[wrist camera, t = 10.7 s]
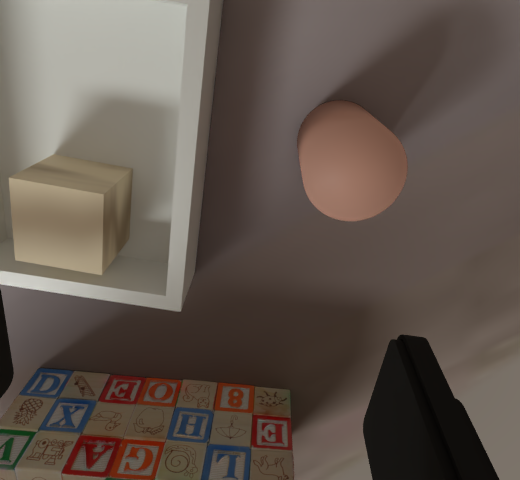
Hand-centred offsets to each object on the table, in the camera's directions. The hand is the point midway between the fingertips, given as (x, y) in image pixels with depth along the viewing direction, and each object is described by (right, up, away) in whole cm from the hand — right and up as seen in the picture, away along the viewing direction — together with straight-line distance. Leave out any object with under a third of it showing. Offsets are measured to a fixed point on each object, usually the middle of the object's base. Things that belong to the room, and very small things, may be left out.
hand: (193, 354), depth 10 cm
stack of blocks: (-7, -11, +27) cm, 30 cm away
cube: (-9, +6, +18) cm, 21 cm away
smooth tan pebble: (+6, +9, +17) cm, 20 cm away
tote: (-9, +10, +17) cm, 21 cm away
